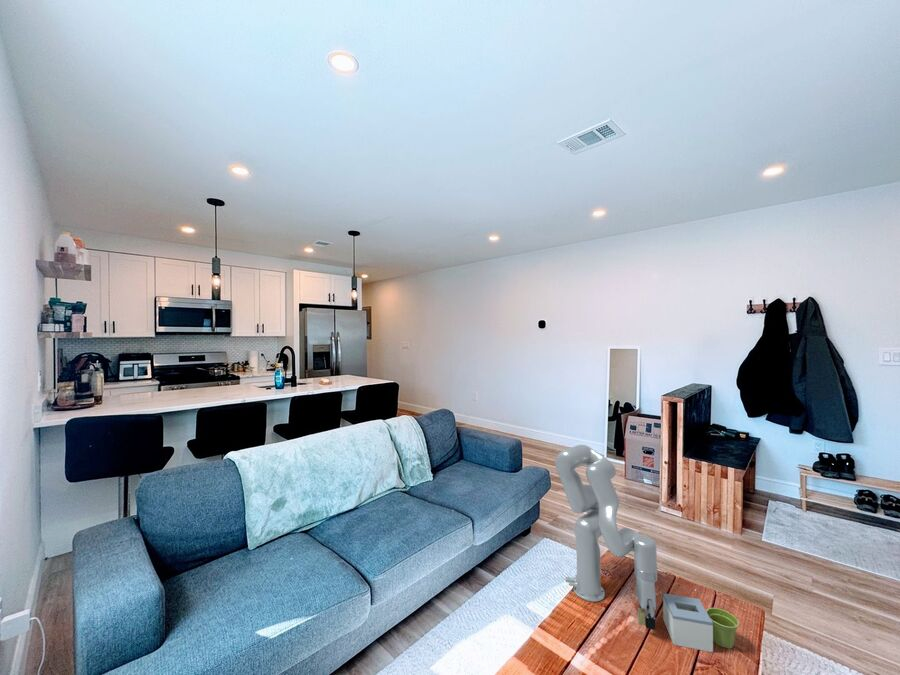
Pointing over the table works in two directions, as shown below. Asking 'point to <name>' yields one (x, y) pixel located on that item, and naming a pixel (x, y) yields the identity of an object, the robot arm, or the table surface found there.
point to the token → (642, 616)
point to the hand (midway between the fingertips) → (647, 618)
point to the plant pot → (723, 627)
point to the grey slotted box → (687, 622)
